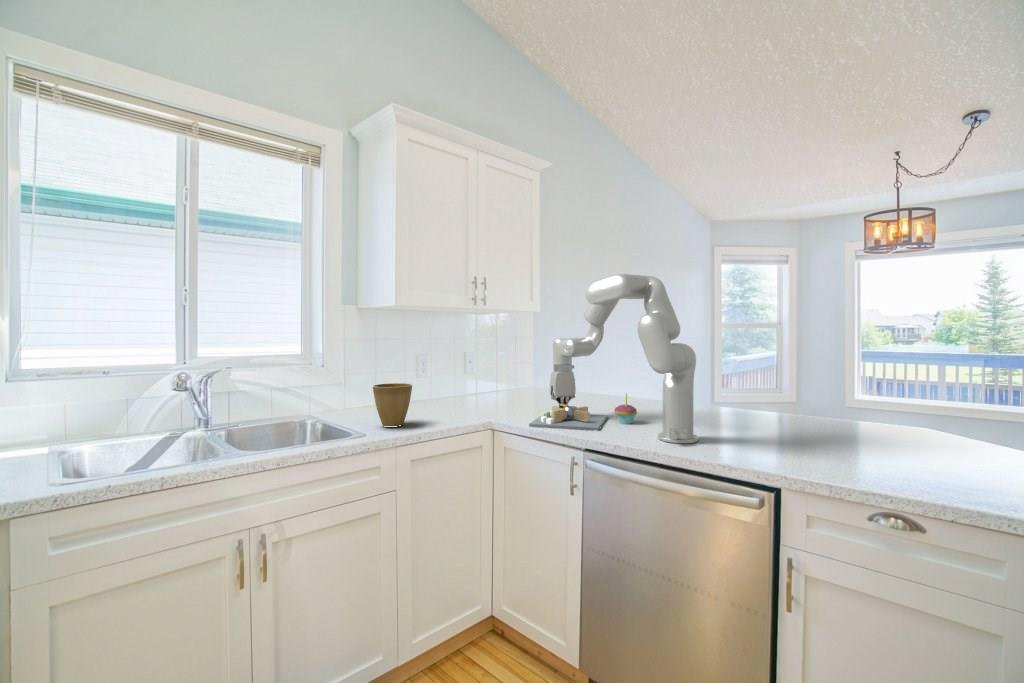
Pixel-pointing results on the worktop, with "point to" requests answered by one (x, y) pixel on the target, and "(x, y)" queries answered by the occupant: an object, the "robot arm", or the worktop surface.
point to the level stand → (569, 422)
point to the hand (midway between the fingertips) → (563, 413)
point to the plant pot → (392, 402)
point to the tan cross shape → (570, 413)
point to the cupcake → (625, 412)
